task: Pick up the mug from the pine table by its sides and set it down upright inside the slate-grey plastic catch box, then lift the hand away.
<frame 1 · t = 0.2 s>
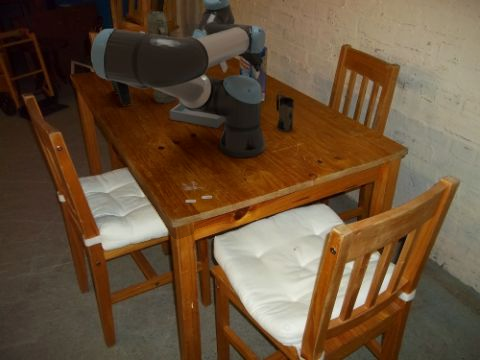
hand: (241, 72, 158), 15 cm above the table, tool tilted 35°, fingers open, 13 cm apart
mug: (282, 127, 153), on the table
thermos: (165, 100, 175), on the table
ceramic cat: (121, 99, 176), on the table
beverage box: (252, 97, 178), on the table
catch box: (205, 113, 163), on the table
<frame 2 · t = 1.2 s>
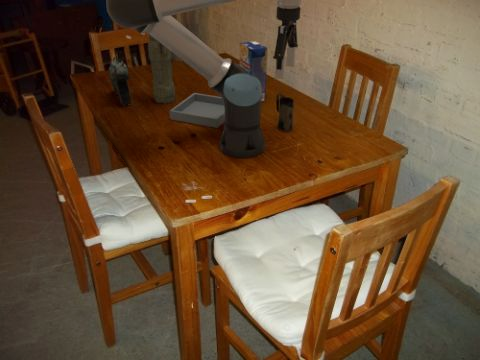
hand: (284, 72, 142), 21 cm above the table, tool pointing down, fingers open, 13 cm apart
nothing on the table moved.
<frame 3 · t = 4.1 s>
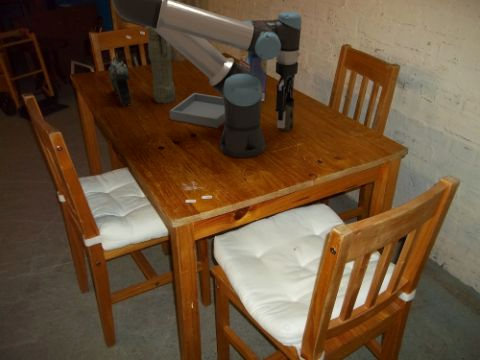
hand: (283, 124, 152), 1 cm above the table, tool pointing down, fingers closed on mug, 5 cm apart
mug: (283, 127, 154), on the table, touching gripper
everything else where it was.
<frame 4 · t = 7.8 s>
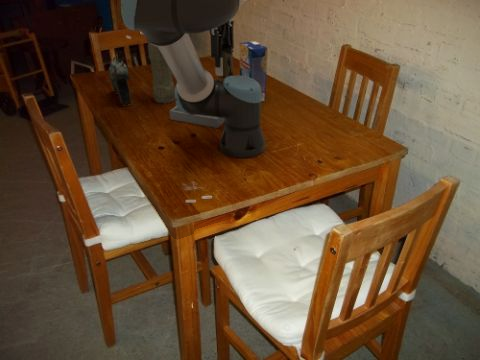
hand: (223, 72, 152), 17 cm above the table, tool pointing down, fingers closed on mug, 5 cm apart
mug: (224, 76, 154), point 16 cm above the table, touching gripper
everything else where it was.
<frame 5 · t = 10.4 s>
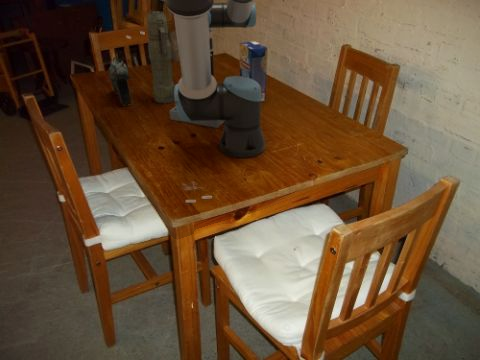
hand: (204, 99, 160), 6 cm above the table, tool pointing down, fingers closed on mug, 5 cm apart
mug: (205, 102, 162), point 4 cm above the table, touching gripper
everything else where it was.
when the fingers open (4 cm above the table, at t = 11.6 s): mug drops 2 cm, resting on catch box.
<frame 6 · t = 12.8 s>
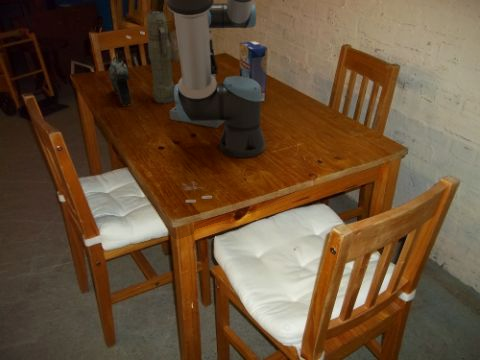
hand: (204, 96, 159), 7 cm above the table, tool pointing down, fingers open, 13 cm apart
mug: (205, 112, 164), resting on catch box
everything else where it was.
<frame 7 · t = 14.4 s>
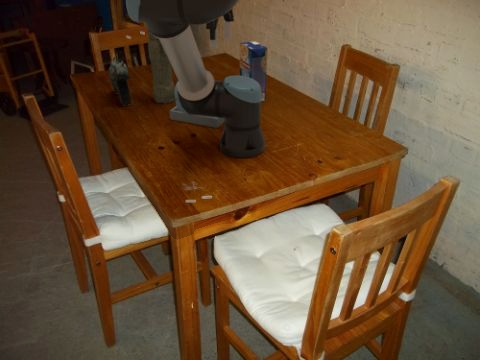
hand: (220, 44, 146), 27 cm above the table, tool pointing down, fingers open, 13 cm apart
nothing on the table moved.
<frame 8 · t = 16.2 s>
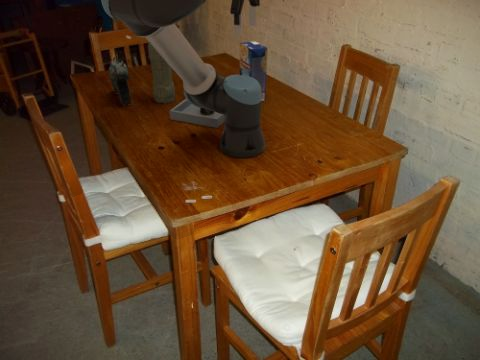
hand: (245, 30, 142), 33 cm above the table, tool pointing down, fingers open, 13 cm apart
nothing on the table moved.
at the end: mug inside the target area on the catch box (0.6 cm from its centre), point 0.4 cm above the catch box's base; mug tilted 0°; the gripper is holding nothing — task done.
